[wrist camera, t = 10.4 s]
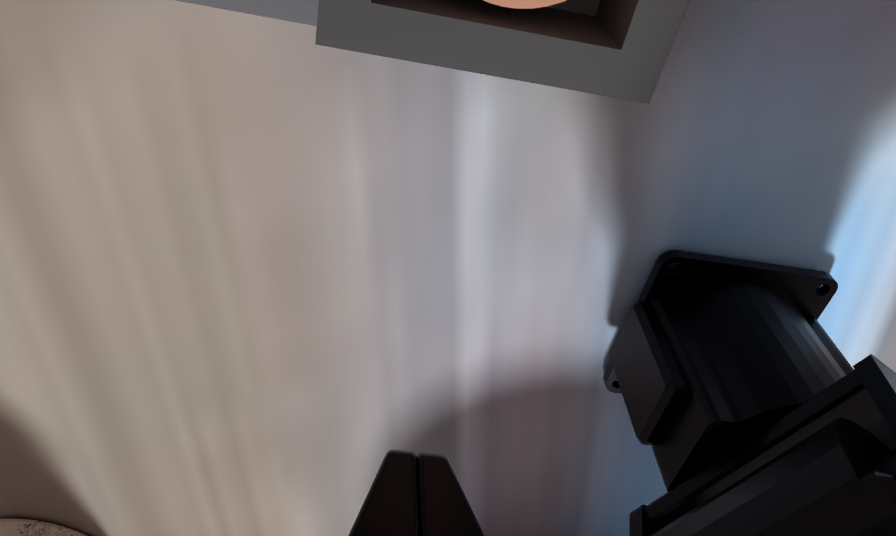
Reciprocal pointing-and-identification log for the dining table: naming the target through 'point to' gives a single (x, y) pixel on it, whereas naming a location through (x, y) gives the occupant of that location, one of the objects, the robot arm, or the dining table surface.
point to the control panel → (500, 37)
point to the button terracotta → (524, 3)
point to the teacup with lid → (34, 528)
